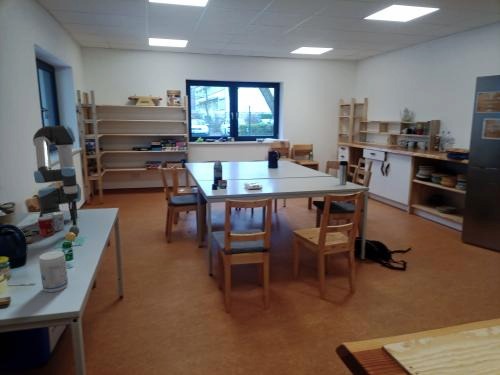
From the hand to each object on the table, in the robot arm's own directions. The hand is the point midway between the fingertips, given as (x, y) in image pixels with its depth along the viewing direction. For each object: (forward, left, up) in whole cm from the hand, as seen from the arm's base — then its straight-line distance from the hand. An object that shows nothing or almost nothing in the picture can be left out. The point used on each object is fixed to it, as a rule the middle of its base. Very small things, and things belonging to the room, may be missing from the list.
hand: (75, 229), depth 222 cm
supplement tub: (+77, +4, -2) cm, 77 cm away
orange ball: (+17, 0, +1) cm, 17 cm away
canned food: (-1, -16, -2) cm, 16 cm away
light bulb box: (-10, -14, -2) cm, 17 cm away
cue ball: (+5, 0, +1) cm, 6 cm away
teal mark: (+19, 0, -2) cm, 19 cm away
